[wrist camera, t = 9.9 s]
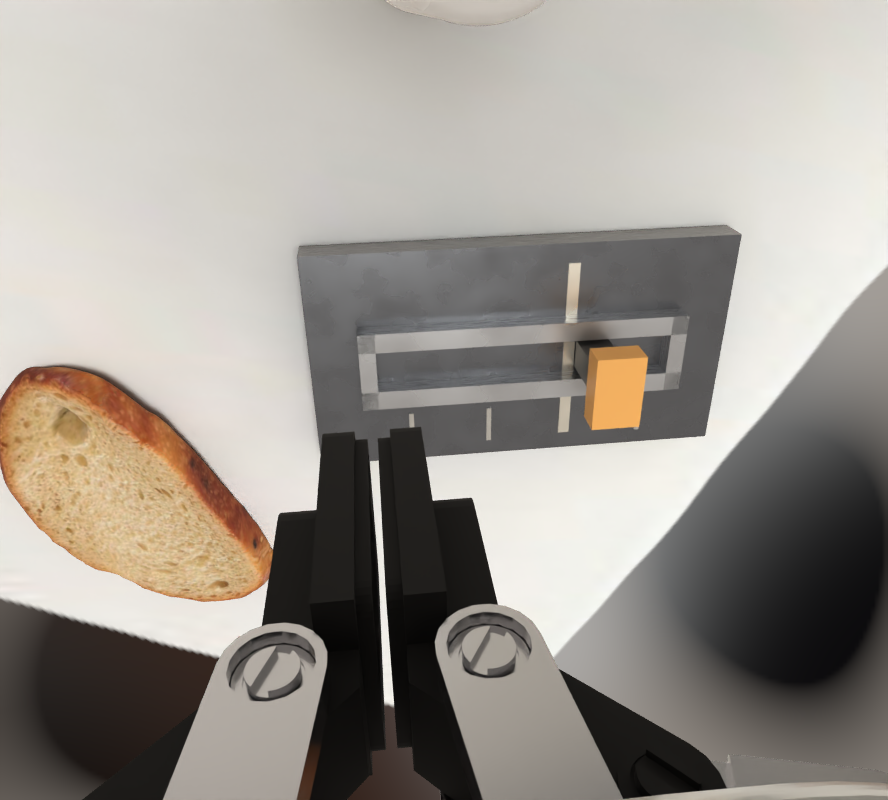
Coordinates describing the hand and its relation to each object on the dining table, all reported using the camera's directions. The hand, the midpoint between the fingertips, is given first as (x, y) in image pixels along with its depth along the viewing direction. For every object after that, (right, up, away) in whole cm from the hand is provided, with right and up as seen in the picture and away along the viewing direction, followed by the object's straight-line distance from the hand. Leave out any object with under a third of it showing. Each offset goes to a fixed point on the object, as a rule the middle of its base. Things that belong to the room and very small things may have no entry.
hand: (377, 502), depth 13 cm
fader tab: (+10, +5, +33) cm, 35 cm away
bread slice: (-19, -4, +38) cm, 42 cm away
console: (+6, +6, +35) cm, 35 cm away
